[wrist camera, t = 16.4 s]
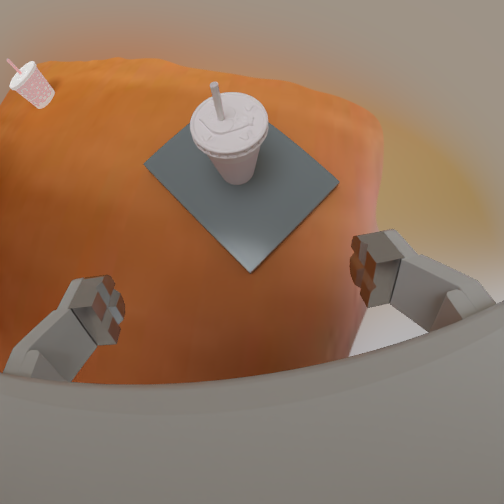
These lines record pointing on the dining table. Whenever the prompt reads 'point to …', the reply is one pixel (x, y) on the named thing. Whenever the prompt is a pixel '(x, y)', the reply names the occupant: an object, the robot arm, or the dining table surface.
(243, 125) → the smoothie
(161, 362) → the dining table surface
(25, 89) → the beverage cup
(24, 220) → the dining table surface
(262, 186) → the slate board
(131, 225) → the dining table surface
